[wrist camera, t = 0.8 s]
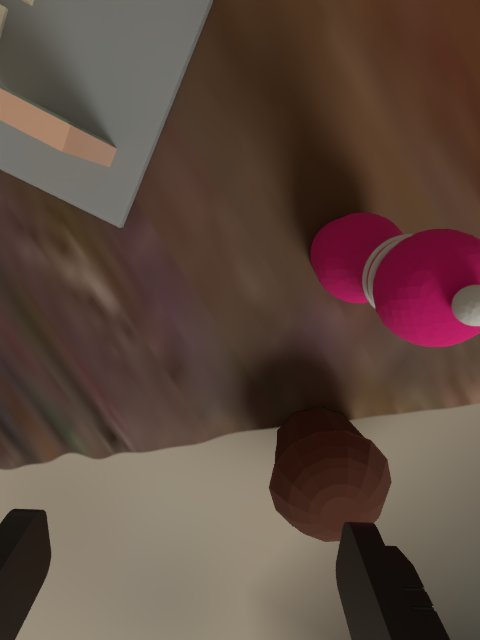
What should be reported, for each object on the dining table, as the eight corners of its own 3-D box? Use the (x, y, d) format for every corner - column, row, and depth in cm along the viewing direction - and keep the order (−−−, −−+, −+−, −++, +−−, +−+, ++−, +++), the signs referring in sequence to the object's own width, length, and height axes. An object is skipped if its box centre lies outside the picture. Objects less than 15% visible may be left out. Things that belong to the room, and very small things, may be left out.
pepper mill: (391, 271, 34) (591, 352, 15) (320, 302, 35) (426, 414, 16) (368, 198, 32) (565, 186, 13) (293, 231, 33) (378, 265, 14)
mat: (-104, -262, 23) (-118, -282, 22) (231, -46, 27) (231, -55, 26) (-162, 87, 29) (-175, 83, 28) (122, 227, 33) (119, 227, 32)
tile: (33, 102, 29) (-51, 58, 20) (117, 146, 30) (71, 122, 21) (27, 124, 29) (-58, 90, 21) (109, 167, 30) (61, 151, 22)
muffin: (372, 472, 41) (415, 552, 32) (278, 495, 42) (292, 580, 32) (354, 381, 38) (396, 440, 28) (252, 407, 39) (259, 473, 29)
